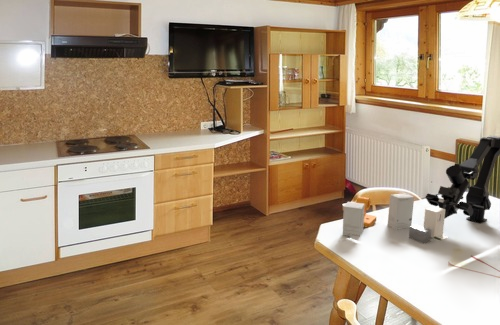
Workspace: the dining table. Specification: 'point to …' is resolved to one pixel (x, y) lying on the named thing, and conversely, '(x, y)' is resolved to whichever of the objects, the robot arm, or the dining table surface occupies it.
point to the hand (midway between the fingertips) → (438, 220)
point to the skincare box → (400, 211)
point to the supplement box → (353, 218)
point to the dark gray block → (420, 234)
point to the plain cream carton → (434, 221)
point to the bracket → (368, 219)
